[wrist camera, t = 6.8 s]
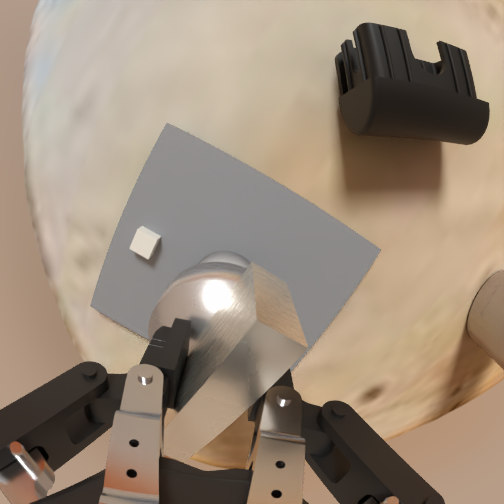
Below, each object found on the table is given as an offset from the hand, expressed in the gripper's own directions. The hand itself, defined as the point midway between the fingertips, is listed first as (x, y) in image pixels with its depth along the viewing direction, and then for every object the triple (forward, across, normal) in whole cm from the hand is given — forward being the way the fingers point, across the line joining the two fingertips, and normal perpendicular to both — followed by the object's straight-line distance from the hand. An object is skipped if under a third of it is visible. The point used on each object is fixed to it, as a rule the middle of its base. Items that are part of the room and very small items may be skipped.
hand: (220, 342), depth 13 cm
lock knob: (+3, 0, +1) cm, 3 cm away
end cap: (+10, -10, -16) cm, 21 cm away
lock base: (+9, 0, +1) cm, 9 cm away
